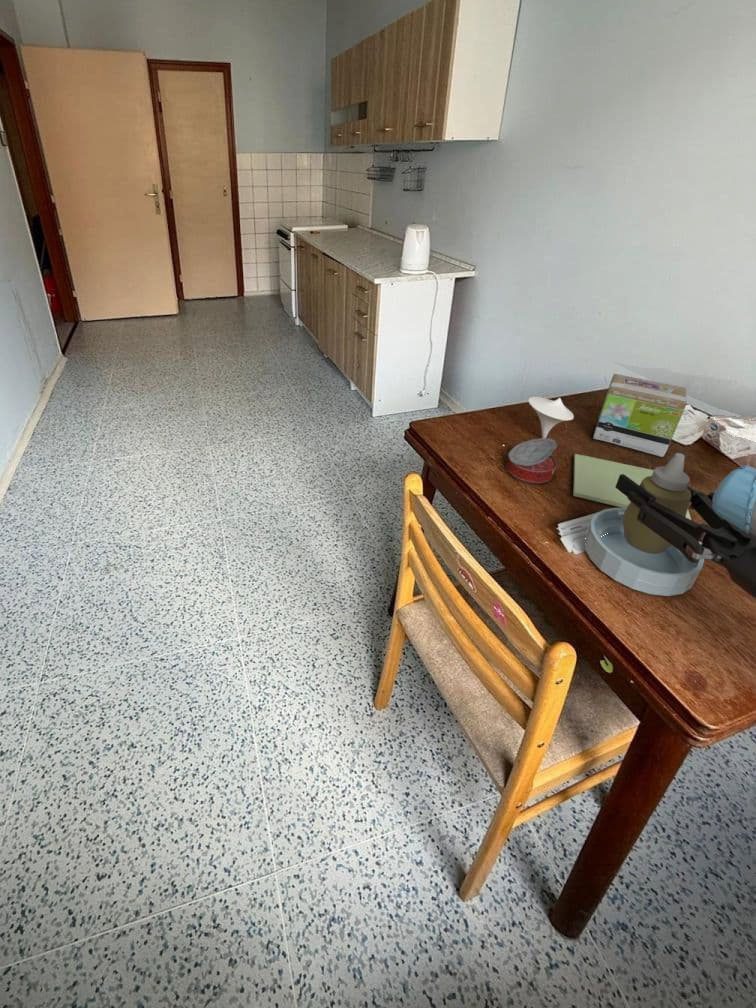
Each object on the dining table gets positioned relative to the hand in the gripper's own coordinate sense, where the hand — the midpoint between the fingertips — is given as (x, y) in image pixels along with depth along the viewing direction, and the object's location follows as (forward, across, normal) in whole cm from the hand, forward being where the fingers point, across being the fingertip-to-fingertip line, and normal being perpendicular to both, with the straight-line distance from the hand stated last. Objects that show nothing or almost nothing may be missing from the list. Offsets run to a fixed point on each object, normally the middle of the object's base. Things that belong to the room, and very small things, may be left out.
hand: (637, 477), depth 81 cm
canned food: (+23, -2, -14) cm, 27 cm away
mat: (+13, +14, -14) cm, 24 cm away
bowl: (-5, 0, -14) cm, 15 cm away
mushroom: (+34, +9, -15) cm, 38 cm away
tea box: (+29, +30, -15) cm, 44 cm away
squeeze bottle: (-5, 0, -10) cm, 11 cm away
